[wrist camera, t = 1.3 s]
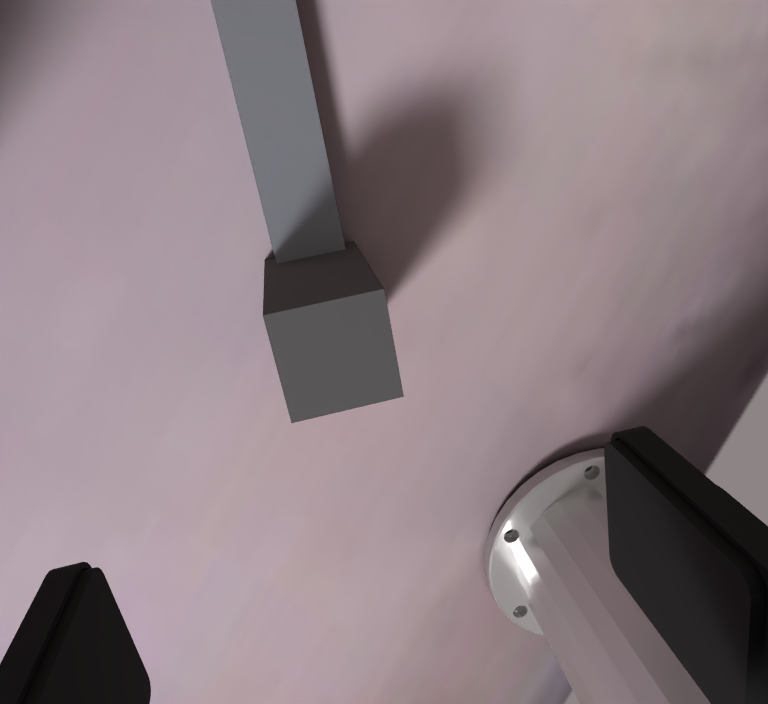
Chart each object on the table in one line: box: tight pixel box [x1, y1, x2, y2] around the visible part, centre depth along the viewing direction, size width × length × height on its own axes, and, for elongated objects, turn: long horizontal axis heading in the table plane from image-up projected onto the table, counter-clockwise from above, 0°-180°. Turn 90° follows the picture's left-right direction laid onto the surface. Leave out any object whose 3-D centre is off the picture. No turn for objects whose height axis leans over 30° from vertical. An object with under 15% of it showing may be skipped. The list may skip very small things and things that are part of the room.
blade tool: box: [211, 0, 404, 423], centre depth 22 cm, size 20×4×8 cm, turn 10°
